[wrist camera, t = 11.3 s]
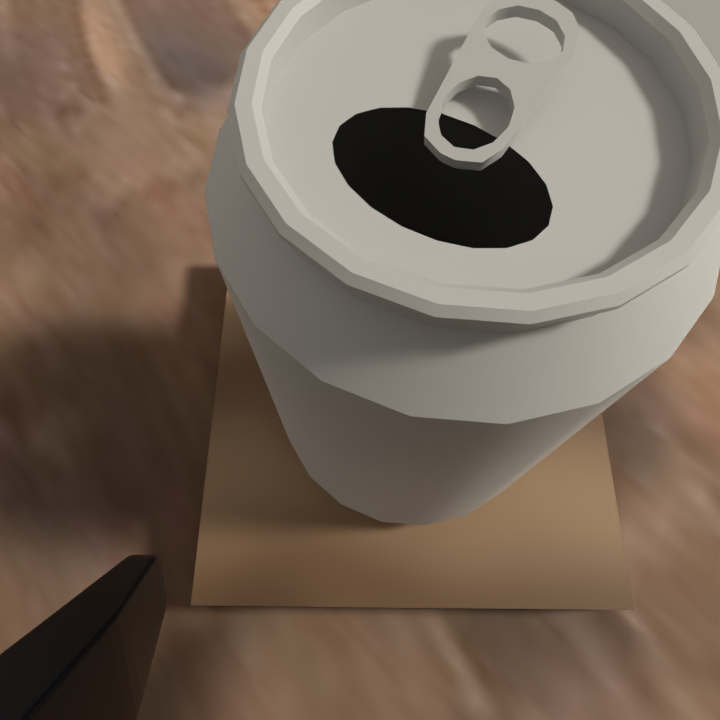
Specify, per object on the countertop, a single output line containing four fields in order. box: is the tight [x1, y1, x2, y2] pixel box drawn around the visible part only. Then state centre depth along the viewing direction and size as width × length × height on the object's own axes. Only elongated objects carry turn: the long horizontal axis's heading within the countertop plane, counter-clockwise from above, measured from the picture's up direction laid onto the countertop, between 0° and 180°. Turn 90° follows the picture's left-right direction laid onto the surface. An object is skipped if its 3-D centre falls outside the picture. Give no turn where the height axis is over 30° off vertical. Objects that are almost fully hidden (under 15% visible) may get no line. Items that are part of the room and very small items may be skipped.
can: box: [205, 0, 720, 525], centre depth 12 cm, size 8×8×12 cm
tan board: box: [191, 289, 634, 610], centre depth 19 cm, size 12×12×2 cm
